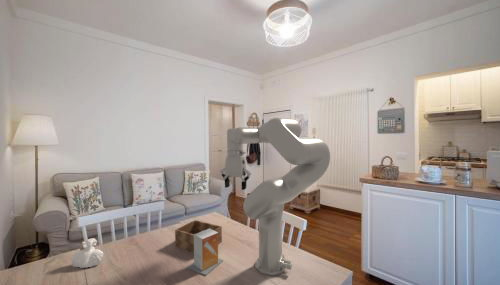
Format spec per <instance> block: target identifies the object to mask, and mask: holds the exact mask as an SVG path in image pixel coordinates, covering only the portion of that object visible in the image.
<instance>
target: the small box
mask: <svg viewBox="0 0 500 285" xmlns="http://www.w3.org/2000/svg"><path fill="white" fill-rule="evenodd" d="M193 259H194V260H193V263H194V265H195V266H197V267H198V268H199V269H201V270H202V271H203V270H205V269H207V268H209V267H210V266H212V265H214V264H216V263H218V259H219V244H218V232H216V231H214V230H212V229H210V228H209V229H207V230H204V231H201V232H199V233H197V234H194V252H193Z"/></svg>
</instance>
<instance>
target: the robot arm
mask: <svg viewBox="0 0 500 285" xmlns="http://www.w3.org/2000/svg"><path fill="white" fill-rule="evenodd" d="M301 134H302V126H301V125H300V122H298V121H297V120H296V119H294V118H293V119H292V118H285V117H284V118H282V117H275V118H270V119H269V120H268V121H267V122H264V123H262V124H260V127H245V126H244V127H241V126H239V127H236V128H235V127H234V128H229V129H227V131H226V144H227V146H226V148H227V150H226V151H227V155H226V157H225V165H224V168H222V169H220V174H221V177H222V178H223V180H224V188H225V189H227V188H229V187H230V186H231V184H230V177H232V178H240V179H241V190H242V191H245V190H246V189H247V181H248V180H249V179H250V177H251V175H252V172H251V171H250V170H248V169H247V163H246V158H245V156H243V155H245V154H246V152H245V151H244V150H243V147H244V146H243V145H246V144H262V143H264V144H270V145H271V146H272V147H273V148H274V149H275V150H276V151H277V153H279V155H280V156H281V157H282V158H283V159H284V160H285V161H286V162H287V163H288V164H290V165H293V166H294V165H295V166H294V167H292V169H290V170H289V171H288V172H287V173H286V174H284V175H283V176H279V177H276V178H275V177H274V178H270V179H267V180H265V181H263V182H261V183H259V185H257V186H256V187H255V188H254V189H253V190H252V191H250V193H249V194H248V195H247V196H246V197H245V199H244V201H243V211H244V214H245V215H246V216H247V217H248V218H249V219H251V220H259V221H258V258H257V259H256V260H255V262H254V264H255V265H254V266H255V268H256V270H257V271H258V272H259V273H261V274H263V275H266V276H277V275H280V274H282V273H284V271H285V270H286V269H287V270H289V271H291V270H292V267H293V264H292V263H291V260H288V259H285V254H283V232H282V231H283V215H284V208H285V204H287V203H289V202H292V201H293V200H294V199H296V197H298V196H299V195H301V194H302V193H303V192H304V191H306V190H307V189H308V188H309V187H311V186H312V185H314V184H315V183H316V182H317V181H318V180H320V179H321V178H322V177H323V176H324V175H325V173H326V171H327V170H328V168H329V166H330V163H331V162H330V161H331V154H330V153H331V152H330V148H329V146H328V144H327V143H326V142H325V141H323V140H321V139H319V138H312V137H309V138H308V137H307V138H299V137H300V136H301Z"/></svg>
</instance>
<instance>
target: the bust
mask: <svg viewBox="0 0 500 285" xmlns="http://www.w3.org/2000/svg"><path fill="white" fill-rule="evenodd" d="M81 243H82V248H83V250H79V251H78V252H75V253H73V255H72V256H71V265H72V267H74V268H78V267H80V268H79V269H85V268H87V269H88V267H90V268H92V267H94V266H98V265H100V264H101V261H102V259H103V257H104V252H103V251H102V250H100V249H97V248H95V247H94V246H97V243H98V240H97V239H96V238H94V237H93V238H89V239H86V240H84V241H82V242H81Z"/></svg>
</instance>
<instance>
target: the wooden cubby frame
mask: <svg viewBox="0 0 500 285" xmlns="http://www.w3.org/2000/svg"><path fill="white" fill-rule="evenodd" d="M209 228H210V229H212V230H214V231H216V232H218V245H219V244H221V243H222V242H223V236H222V234H223V229H222V228H223V227H222V226H221V225H217V224H213V223H210V222H205V221H200V220H196V219H194V220H192V221H190V222H188V223H186V224H185V225H183V226H180V227H178V228H175V229H174V237H175V238H174V239H175V240H174V241H175V247H177V248H180V249H183V250H187V251H189V252H193V253H194V234H197V233H199V232H201V231H204V230H207V229H209Z"/></svg>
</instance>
